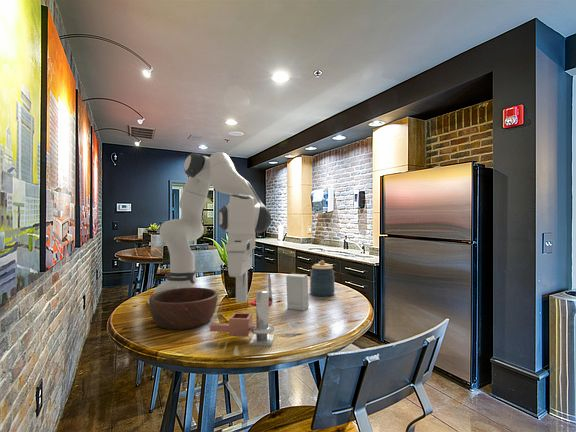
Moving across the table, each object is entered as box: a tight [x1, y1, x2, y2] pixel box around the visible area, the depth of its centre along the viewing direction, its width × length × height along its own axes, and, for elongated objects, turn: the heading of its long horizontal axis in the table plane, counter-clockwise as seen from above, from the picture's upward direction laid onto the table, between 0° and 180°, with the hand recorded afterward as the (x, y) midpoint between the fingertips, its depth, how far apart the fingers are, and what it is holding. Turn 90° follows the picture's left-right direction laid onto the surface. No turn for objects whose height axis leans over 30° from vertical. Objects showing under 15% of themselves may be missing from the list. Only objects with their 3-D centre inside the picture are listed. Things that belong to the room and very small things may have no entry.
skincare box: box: [285, 273, 310, 312], centre depth 137 cm, size 8×6×15 cm
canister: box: [309, 259, 336, 297], centre depth 163 cm, size 13×13×18 cm
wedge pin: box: [235, 270, 249, 304], centre depth 101 cm, size 3×3×10 cm
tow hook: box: [250, 273, 274, 306], centre depth 145 cm, size 9×14×10 cm
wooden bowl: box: [148, 287, 218, 330], centre depth 120 cm, size 25×25×10 cm
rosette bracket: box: [209, 289, 275, 347], centre depth 101 cm, size 21×8×16 cm, turn 86°
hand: (241, 285), depth 101 cm, fingers closed on wedge pin, 3 cm apart
